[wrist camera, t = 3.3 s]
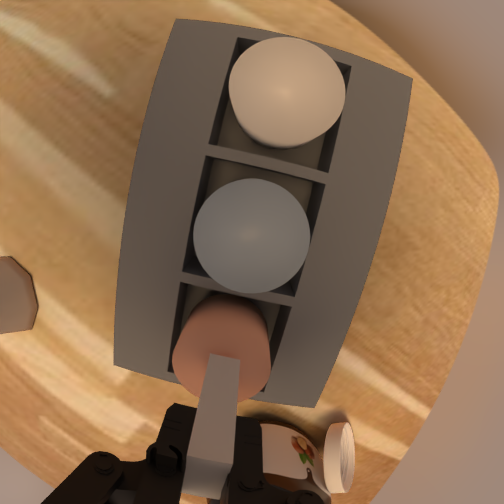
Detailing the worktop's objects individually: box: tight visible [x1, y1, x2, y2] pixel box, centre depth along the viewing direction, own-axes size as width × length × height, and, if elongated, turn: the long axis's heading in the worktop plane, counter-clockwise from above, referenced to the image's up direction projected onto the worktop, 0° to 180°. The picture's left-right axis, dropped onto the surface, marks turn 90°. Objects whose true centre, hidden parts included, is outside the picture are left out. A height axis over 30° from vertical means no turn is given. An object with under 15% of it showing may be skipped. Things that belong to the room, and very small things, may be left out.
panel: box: [114, 19, 413, 408], centre depth 18 cm, size 22×14×4 cm, turn 167°
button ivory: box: [229, 37, 345, 150], centre depth 14 cm, size 5×5×4 cm
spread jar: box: [206, 421, 355, 504], centre depth 19 cm, size 12×11×12 cm
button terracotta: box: [172, 294, 271, 402], centre depth 17 cm, size 5×5×4 cm
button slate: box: [193, 178, 310, 293], centre depth 16 cm, size 5×5×4 cm
